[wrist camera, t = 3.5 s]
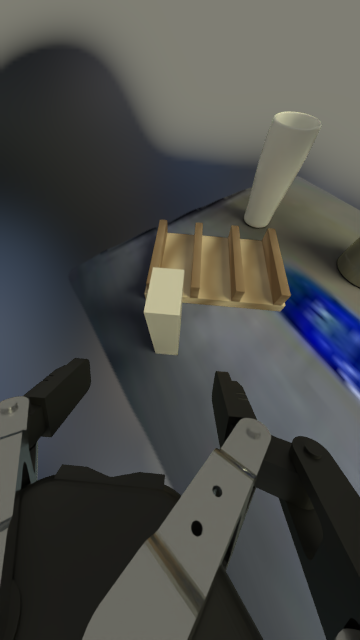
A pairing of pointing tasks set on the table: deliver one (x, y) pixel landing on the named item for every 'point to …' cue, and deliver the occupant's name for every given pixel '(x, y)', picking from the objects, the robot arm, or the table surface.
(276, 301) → the ridged wooden tray
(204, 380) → the table surface
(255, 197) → the drinking glass
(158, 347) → the cream rectangular block
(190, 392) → the table surface
